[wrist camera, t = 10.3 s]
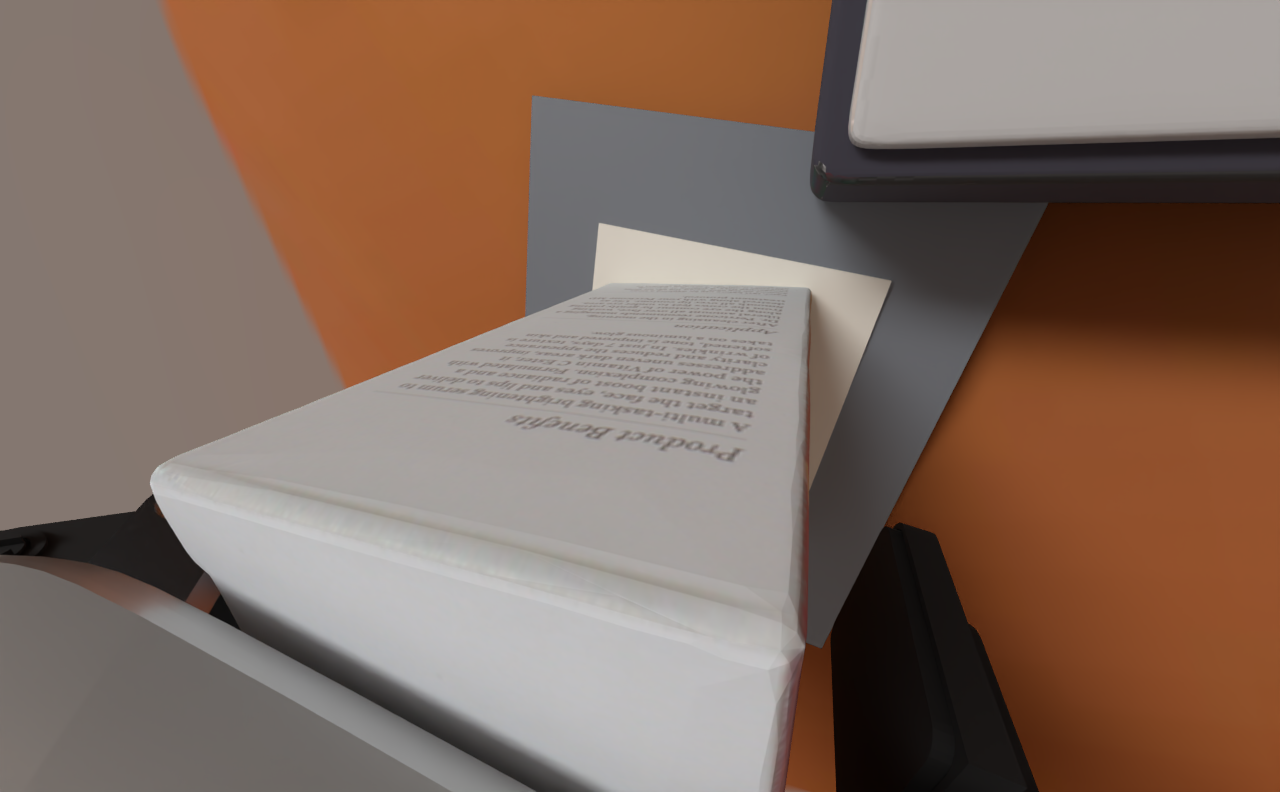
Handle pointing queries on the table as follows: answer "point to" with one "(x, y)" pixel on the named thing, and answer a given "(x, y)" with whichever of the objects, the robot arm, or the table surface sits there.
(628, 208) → the board
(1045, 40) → the calculator
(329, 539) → the small box
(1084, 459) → the table surface
